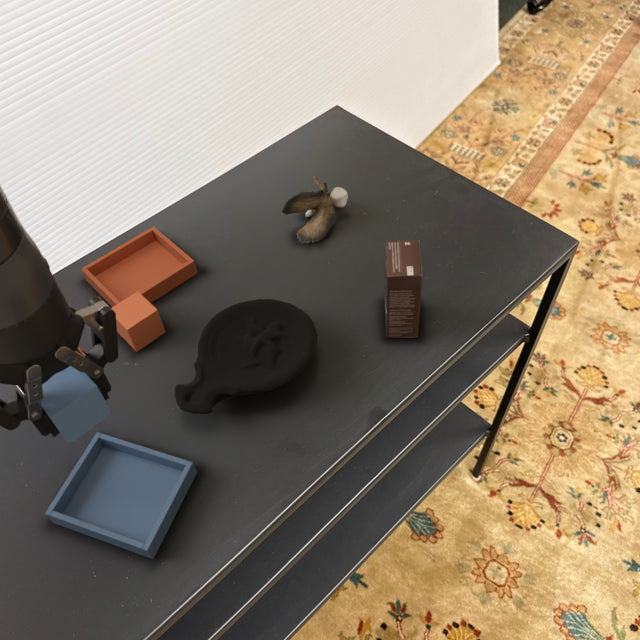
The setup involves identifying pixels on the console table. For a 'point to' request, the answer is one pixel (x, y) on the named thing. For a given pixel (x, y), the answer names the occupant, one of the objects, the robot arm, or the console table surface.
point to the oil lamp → (248, 353)
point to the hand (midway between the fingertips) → (76, 411)
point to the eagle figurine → (316, 210)
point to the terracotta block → (138, 321)
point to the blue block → (73, 403)
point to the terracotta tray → (140, 268)
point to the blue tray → (123, 494)
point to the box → (403, 288)
